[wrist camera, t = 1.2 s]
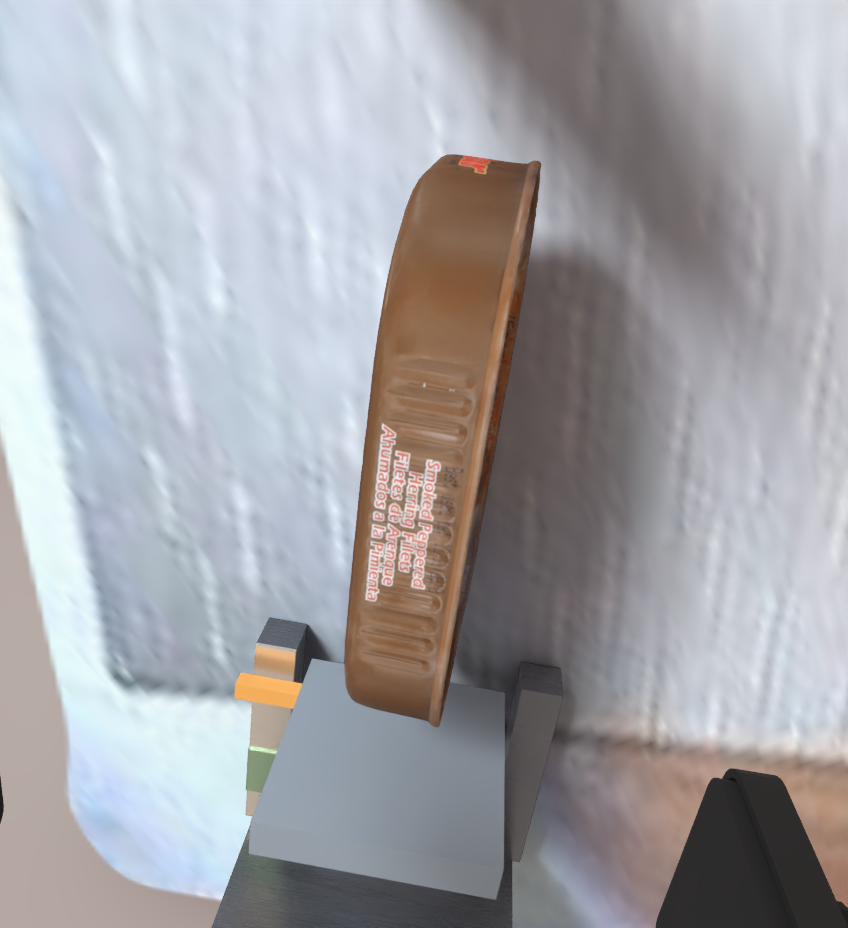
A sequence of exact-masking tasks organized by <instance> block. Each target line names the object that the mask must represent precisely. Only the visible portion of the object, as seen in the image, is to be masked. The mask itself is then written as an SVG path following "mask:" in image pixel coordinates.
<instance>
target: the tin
mask: <svg viewBox="0 0 848 928" xmlns="http://www.w3.org/2000/svg"><path fill="white" fill-rule="evenodd" d="M540 168H541V163H540V162H539V161H532V162H530V163H529V164H520V163H511V162H504V161H498V160H491V159H485V158H478V157H472V156H463V155H446V156H443V157H441V158H440V159H439V160H438V161H437V162H436V163H435V164H434V165H433V166H432V167H431V168H430V169H428V170H427V171H426V172H425V173H424V174H423V175H422V177H421V178H420V179H419V180H418V182H417V184H416V186H415V188H414V189H413V191H412V194H411V196H410V199H409V201H408V204H407V207H406V209H405V213H404V216H403V220H402V223H401V227H400V230H399V234H398V237H397V240H396V244H395V248H394V252H393V256H392V260H391V265H390V269H389V274H388V279H387V284H386V289H385V294H384V300H383V306H382V312H381V318H380V324H379V330H378V336H377V343H376V351H375V358H374V366H373V374H372V384H371V394H370V402H369V409H368V420H367V429H366V436H365V445H364V454H363V465H362V472H361V482H360V491H359V501H358V511H357V522H356V532H355V541H354V550H353V562H352V574H351V583H350V592H349V606H348V617H347V629H346V639H345V658H344V672H345V685H346V689H347V692H348V694H349V696H350V697H351V699H352V700H353V701H355V702H356V703H358V704H361V705H363V706H366V707H369V708H373V709H376V710H380V711H385V712H389V713H394V714H398V715H403V716H407V717H412V718H416V719H421V720H424V721H428V722H429V723H430V724H431V725H432V726H434V727H439V726H440V723H441V718H442V714H443V711H444V705H445V701H446V697H447V693H448V688H449V683H450V678H451V674H452V668H453V664H454V658H455V653H456V648H457V643H458V638H459V633H460V628H461V624H462V619H463V615H464V611H465V606H466V602H467V598H468V594H469V589H470V584H471V579H472V574H473V568H474V562H475V557H476V552H477V546H478V539H479V532H480V528H481V522H482V517H483V513H484V507H485V502H486V497H487V490H488V486H489V480H490V475H491V469H492V463H493V457H494V452H495V446H496V440H497V435H498V430H499V425H500V418H501V412H502V407H503V402H504V397H505V391H506V386H507V380H508V375H509V370H510V364H511V359H512V353H513V348H514V342H515V337H516V331H517V325H518V319H519V313H520V308H521V302H522V297H523V291H524V284H525V277H526V270H527V265H528V260H529V254H530V249H531V242H532V236H533V229H534V221H535V216H536V207H537V201H538V190H539V182H540Z"/></svg>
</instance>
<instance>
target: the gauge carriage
mask: <svg viewBox="0 0 848 928" xmlns="http://www.w3.org/2000/svg"><path fill="white" fill-rule="evenodd" d="M235 698H236V699H241V700H247V701H252V702H258V703H264V704H269V705H275V706H280V707H286V708H291V709H293V710H292V713H291V716H290V718H289V721H288V724H287V726H286V729H285V732H284V734H283V737H282V740H281V742H280V745H279V748H278V750H277V753H276V756H275V758H274V761H273V764H272V766H271V769H270V772H269V774H268V777H267V780H266V782H265V785H264V787H263V790H262V793H261V795H260V798H259V801H258V803H257V806H256V809H255V811H254V814H253V817H252V819H251V824H250V840H249V854H254V855H259V856H264V857H270V858H275V859H280V860H286V861H291V862H296V863H302V864H307V865H313V866H318V867H323V868H329V869H334V870H339V871H345V872H350V873H355V874H361V875H366V876H371V877H377V878H382V879H387V880H393V881H398V882H403V883H409V884H414V885H419V886H425V887H430V888H435V889H441V890H446V891H451V892H457V893H462V894H467V895H473V896H478V897H483V898H489V899H494V900H496V898H497V894H498V890H499V886H500V882H501V878H502V874H503V870H504V777H505V692H499V691H493V690H488V689H482V688H476V687H471V686H465V685H459V684H454V683H449V688H448V693H447V697H446V701H445V705H444V711H443V714H442V718H441V723H440V726H439V727H434V726H432V725H431V724H430V723H429V722H428V721H424V720H421V719H416V718H412V717H407V716H403V715H398V714H394V713H389V712H385V711H380V710H376V709H373V708H369V707H366V706H363V705H361V704H358V703H356V702H355V701H353V700H352V699H351V697H350V696H349V694H348V692H347V689H346V685H345V672H344V664H340V663H335V662H329V661H323V660H318V659H312V660H311V663H310V665H309V668H308V671H307V673H306V676H305V679H304V681H303V684H302V683H296V682H291V681H285V680H279V679H274V678H268V677H263V676H257V675H251V674H246V673H241V674H240V676H239V678H238V680H237V682H236V684H235Z"/></svg>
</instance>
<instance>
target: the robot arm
mask: <svg viewBox="0 0 848 928" xmlns="http://www.w3.org/2000/svg"><path fill="white" fill-rule="evenodd" d="M3 807H4V805H3V796H2V787H1V778H0V822H1V819H2V816H3ZM656 928H848V908H847V907H846V906H845V905H844V904H843V903H842V902H839V901H836V899H835V897H834V895H833V892H832V890H831V888H830V886H829V883H828V881H827V879H826V877H825V874H824V872H823V870H822V868H821V865H820V863H819V861H818V859H817V856H816V854H815V852H814V850H813V847H812V845H811V843H810V841H809V838H808V836H807V834H806V832H805V829H804V827H803V825H802V823H801V820H800V818H799V816H798V814H797V811H796V809H795V807H794V805H793V802H792V800H791V798H790V796H789V793H788V791H787V789H786V787H785V785H784V783H783V781H782V780H781V779H780V778H779V777H777V776H775V775H769V774H763V773H757V772H751V771H745V770H739V769H729V770H728V771H726V773H725V775H724V776H723V778H722V779H720V778H713V779H712V780H711V781H710V782H709V784H708V787H707V789H706V792H705V795H704V797H703V800H702V802H701V805H700V808H699V810H698V813H697V816H696V818H695V821H694V823H693V826H692V829H691V831H690V834H689V837H688V839H687V842H686V844H685V847H684V850H683V852H682V855H681V858H680V860H679V863H678V865H677V868H676V871H675V873H674V876H673V879H672V881H671V884H670V886H669V889H668V892H667V894H666V897H665V899H664V902H663V905H662V907H661V910H660V913H659V915H658V918H657V922H656Z"/></svg>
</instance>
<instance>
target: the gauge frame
mask: <svg viewBox="0 0 848 928" xmlns="http://www.w3.org/2000/svg"><path fill="white" fill-rule="evenodd" d="M306 633H307V624H303V623H297V622H291V621H286V620H280V619H274V618H269V619H268V621H267V623H266V625H265V627H264V629H263V631H262V633H261V635H260V637H259V639H258V641H257V643H256V645H255V663H254V675H257V676H263V677H268V678H274V679H279V680H285V681H291V682H296V683H302V677H303V666H304V655H305V644H306ZM562 700H563V688H562V678H561V669H560V668H554V667H549V666H543V665H537V664H531V663H526V662H521V667H520V671H519V675H518V680H517V684H516V688H515V693H514V697H513V701H512V706H511V710H510V714H509V719H508V723H507V727H506V732H505V777H504V870H503V874H502V878H501V882H500V886H499V890H498V894H497V898H496V900H494V899H489V898H483V897H478V896H473V895H467V894H462V893H457V892H451V891H446V890H441V889H435V888H430V887H425V886H419V885H414V884H409V883H403V882H398V881H393V880H387V879H382V878H377V877H371V876H366V875H361V874H355V873H350V872H345V871H339V870H334V869H329V868H323V867H318V866H313V865H307V864H302V863H296V862H291V861H286V860H280V859H275V858H270V857H264V856H259V855H254V854H249V840H250V827H249V829H248V832H247V835H246V837H245V840H244V843H243V845H242V848H241V851H240V853H239V856H238V859H237V861H236V864H235V867H234V869H233V872H232V875H231V877H230V880H229V883H228V885H227V888H226V891H225V893H224V896H223V899H222V901H221V904H220V907H219V909H218V912H217V915H216V917H215V920H214V923H213V925H212V928H512V861H516V862H520V859H521V856H522V852H523V848H524V844H525V840H526V837H527V833H528V829H529V825H530V821H531V818H532V814H533V810H534V806H535V802H536V799H537V795H538V791H539V787H540V783H541V780H542V776H543V772H544V768H545V764H546V761H547V757H548V753H549V749H550V745H551V741H552V738H553V734H554V730H555V726H556V722H557V719H558V715H559V711H560V707H561V703H562ZM292 710H293V709H291V708H286V707H280V706H275V705H269V704H264V703H258V702H252V714H251V732H250V747H249V749H248V762H247V779H246V790H247V801H246V815H248V816H253V814H254V811H255V809H256V806H257V803H258V801H259V798H260V795H261V793H262V790H263V787H264V785H265V782H266V780H267V777H268V774H269V772H270V769H271V766H272V764H273V761H274V758H275V756H276V753H277V750H278V748H279V745H280V742H281V740H282V737H283V734H284V732H285V729H286V726H287V724H288V721H289V718H290V716H291V713H292Z"/></svg>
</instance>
